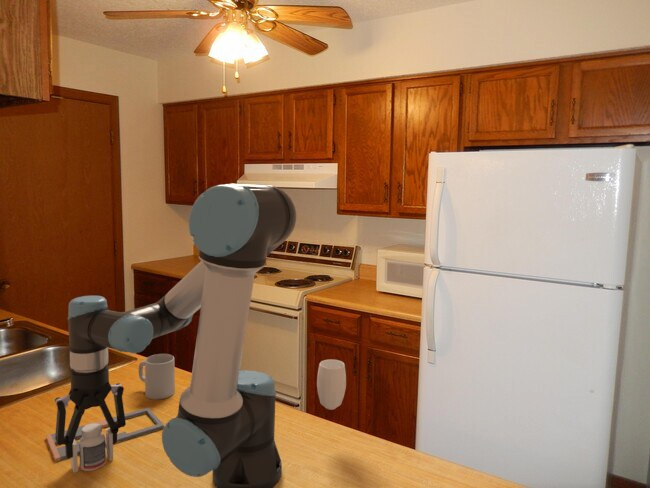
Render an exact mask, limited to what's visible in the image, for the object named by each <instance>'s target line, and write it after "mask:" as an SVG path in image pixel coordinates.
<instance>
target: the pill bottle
mask: <svg viewBox="0 0 650 488" xmlns="http://www.w3.org/2000/svg"><path fill="white" fill-rule="evenodd" d="M93 423H94V422H93ZM88 424H89V425H87V424H85V425H86V426H84V427H83V428H82V436H83V437H82V438H79V441H78V442H79V452H80V455H79V467H80V470H83V471H85V472H91V471H96V470H99V469H101V468H102V467H103V466H104V465H106V462H107V458H106V457H107V454H106V446H105V437H106V434H104V433H103V430H102V429H103V428H102V426H101V425H100V424H96V423H94V424H91V423H88Z"/></svg>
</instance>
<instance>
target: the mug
mask: <svg viewBox="0 0 650 488" xmlns="http://www.w3.org/2000/svg"><path fill="white" fill-rule="evenodd" d="M175 362H176V361H175V357H174V355H172V354H169V353H158V354H153V355H150V356H148V357H146V358H145V359H144V360H142V361H140V362H139V364H138V377H139V379H140V381H141V382H143V383H144V387H145V388H144V389H145V390H144V393H145V394H144V395H145V397H146V398H147V399H150V400H164V399H167V398H170V397H173V395H174V394H175V392H176V383H175V382H176V378H175V377H176V376H175V371H176V370H175Z"/></svg>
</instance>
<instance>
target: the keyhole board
mask: <svg viewBox="0 0 650 488" xmlns="http://www.w3.org/2000/svg"><path fill="white" fill-rule="evenodd" d="M146 414H147V416H149V418H150V419H151V420H152V421H153V422H154V423H155V424H154V425H150V426H148V427H143V428H141V429H137V430H134V431H131V432H128V433H127V431H123V432H118V433H117V443H116V444H118V443H121V442H125V441H127V440H131V439H134V438H138V437H140V436H144V435H147V434H149V433H150V434H151V433H153V432H156V431H161V430H163V429H164V427H165V424H164V423H163V422H162V421H161V420H160V419H159V417H157V416H156V414H155V413H154V412H153V411H152V410H151V409H150V408H149V407H146V408H142V409H138V410H134V411H131V412H127V413H124V415H125V420H128V419H132V418H135V417H139V416H142V415H146ZM112 418H113V420H114V422H116V421H117V416H112ZM94 423H96V424H100V425H101V426H102V429H106V428H110V427H109V425H108V423H107V421H106V419H103V420H98V421H95V422H91V423H87V424H84V425H81V426H80V425H79V427H78V430H77V433H76V435H75V438H74V439H75V441H76V440H80V439H81V438H82V437H83V436H82V428H83V427H84V426H86V425H89V424H94ZM67 430H68V429H65V432H64V436H66V433H67ZM55 435H56V432H54V433H52V434H49V435H46V436H45V438H46V441H47V444H48V447H49V449H50V451H51V454H52V457H53V459H54V462H55V463H56V462H60V461H64V460H66V459H68V458H67V456H66V451H65V445H63V446H62V445H61V446H60V447H59V445H58V444H57V442H56V440H55ZM76 443H77V456H78V455H79V456H80V452H79V441H76ZM57 446H58V447H57ZM105 447H106V436H105Z"/></svg>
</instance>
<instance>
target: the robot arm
mask: <svg viewBox="0 0 650 488" xmlns="http://www.w3.org/2000/svg"><path fill="white" fill-rule="evenodd" d="M296 223H297V211H296V206H295V204H294V202H293V200H292V198H291V197H290V196H289V195H288V194H287V192H285V190H283V189H281V188H279V187H277V186H275V185H270V184H245V183H244V184H242V183H234V182H233V183H225V184H218V185H214V186H211V187H209V188H207V189H206V190H205V191H204V192H202V193H201V194H200V195H199V196H198V197H197V198H196V199H195V201H194V203H193V204H192V206H191V209H190V212H189V218H188V230H189V234H190V236H192V237H193V239H192V242H193V244H194V245H195V247H196V248H197V249H198V250H199V251H198V259H199V260H200V262H198V263H197V264H196V265H195V266H194V267H193V268H192V269H191V270H190V271H188V273H187V274H186V275H185V276H184V277H182V279H181V280H180V281H178V282H177V283H176V284H175V285H174V286H173V287H172V288H171V289H170V290H169V291H168V292H167V293H166V294H165V295H164V296H162V298H161V299H159V300H158V301H156V302H155V303H151V304H147V305H144V306H140V307H137V308H134V309H130V310H127V311H122V312H121V311H114V310H111V309H108V308H109V306H108V301H107V299H106V298H105V297H104V296H101V295H83V296H78V297H75V298H73V299H71V300H70V301H69V302H68V313H67V314H68V317H67V323H68V338H69V339H68V342H69V343H68V344H69V366H70V367H69V368H70V390H69V392H68V394H67V395H65V396H62V397H61V396H60V397H56V398H55V399H54V402H55V404H56V409H57V410H56V421H55V422H56V424H55V433H56V435H55V440H56V442H57V444H58V445H57V446H62V445H63V446H65V451H66V456H67V459H70V466H71V469H72V471H73V473H74V474H75V473H78V472H79V470H78V469H79V465H78V464H79V463H78V455H77V443H76V442H77V441H76V440H75V439H74V438H75V435H76V433H77V430H78V427H80V423H81V422H82V421H81V420H82V418H83V416H84V415H85V411H86V410H88V409H90V408H96V407H99V408H100V410H101V412H102V414H103V418H105V419H106V421H107V423H108V425H109V427H108V428H105V437H106V446H105V448H106V457H107V458H108V461H109V462H111V461H113V460H114V445H116V444H118V443H117V434H119V429H121V428H123V427H126V423H127V422H126V419H125V415H124V414H125V408H124V402H123V395H124V390H125V388H124V386H123V385H122V384H121V383H120V382H118V383H116V384H111V383H110V379H109V377H110V375H109V373H110V372H109V371H110V370H109V365H108V363H109V349H112V350H115V351H118V352H120V353H122V352H123V353H131V354H137V353H141V352H143V351H144V350H145V349H146V348H147V346H149V345H150V344H151V342H152V340H153V339H155V338H159V337H161V336H164V335H167V334H169V333H172V332H178V331H179V330H181V329H183V328H185V327H187V326H189V324H190V323H191V322H192V320H193V317H194V314H195V313H196V312H197V311H199V310H200V311H199V318H198V326H197V332H196V334H197V335H196V340H195V341H196V342H195V349H194V356H193V362H192V363H193V364H192V369H191V370H192V371H191V378H190V385H189V386H188V387H187V388H185V389H183V391H182V392H181V395H180V397H179V404H178V410H177V415H176V417H173V418H171V419H169V420H168V422H167V423H166V424H164V428H163V429H162V434H161V441H162V447H163V449H164V452H165V455H166V456H167V457H168V459H169V461H170V463H171V464H172V465H173V466H174V467H175V468H176V469H177V470H179V471H180V472H181V473H183V474H184V475H187V476H189V477H194V478H199V477H200V478H201V477H203V476H206V475H208V474H209V473H211V471H212V483H213V485H214V486H215V487H216V488H274V487H275V486H276V485H277V484H278V483H279V481H280V480H281V477H282V474H283V473H282V471H283V470H282V469H283V468H282V466H283V465H282V460H281V456H280V453H279V451H278V447H277V444H276V441H275V427H276V426H275V424H276V418H275V417H276V396H277V393H276V383H275V382H276V381H275V380H274V379H273V377H272V376H270V375H269V374H268V373H265V372H260V371H258V370H257V371H256V370H247V369H246V370H242V369H241V365H242V359H243V351H244V344H245V339H246V332H247V325H248V319H249V312H250V306H251V301H252V293H253V287H254V282H255V275H256V273H258V272H259V271H260V270H262V269H263V268H264V267H265V265H266V261H267V260H266V259H267V256H269V255H270V254H271V253H272V252H273V251H275V250H276V249H277V248H278V247H279V246H280V245H282V244H283V243H285V241H287V239H288V238H289V237H290V236H291V234H292V233H293V231H294V229H295V227H296ZM110 392H111V394H112V395H113V399H114V400H113V401H114V406H115V407H114V408H115V413H116V414H115V415H116V416H117V421H116V422H114V420H113V418H112V417H113V415H112V413H111V412H110V410H109V407H108V405H107V403H106V399H107V396H108V395H109V394H110ZM70 401H71V402H73V404H75V405H74V406H73V407H74V408H73V410H74V411H72V412H73V414H72V415H71V419H70V421H69V424H68V427H67V429H65V428H66V419H67V418H66V416H67V410H66V408H68V406H69V402H70ZM116 416H115V417H116ZM105 419H104V420H105ZM65 430H67V433H66V436H64V432H65Z"/></svg>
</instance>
